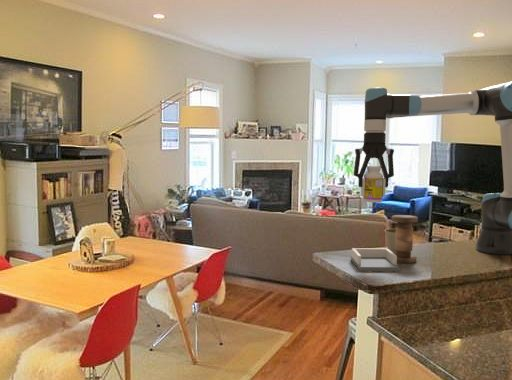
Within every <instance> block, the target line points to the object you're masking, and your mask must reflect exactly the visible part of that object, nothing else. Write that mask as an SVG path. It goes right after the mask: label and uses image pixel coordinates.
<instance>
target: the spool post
mask: <svg viewBox="0 0 512 380" xmlns="http://www.w3.org/2000/svg"><path fill="white" fill-rule="evenodd" d="M418 219H419V217H418V216H416V215H409V214H408V215H407V214H406V215H405V214H395V215H392V216H391V221H392V222H395V223H396V225H397V226H395V229H396V236H395V250H397V251H396V254H395V255H396V256H397V263H398V264H414V263H417V255H413V254H412V251H413V247H414V246H413V241H414V227H412V224H414V223H415V224H416V223H418V221H419V220H418Z"/></svg>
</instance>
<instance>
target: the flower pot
mask: <svg viewBox="0 0 512 380" xmlns="http://www.w3.org/2000/svg"><path fill="white" fill-rule="evenodd" d="M384 232H385V233H384V234H385V235H386V243H387V245H386V246H387V248H388V249H389V250H390V251H391V252H393V253H394V254H396V251H397V250H395V236H396V228H387V229H384Z"/></svg>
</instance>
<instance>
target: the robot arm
mask: <svg viewBox="0 0 512 380" xmlns="http://www.w3.org/2000/svg"><path fill="white" fill-rule="evenodd" d="M364 97H365V98H364V124H363V125H364V126H363V130H364V133H363V145H362V147H359V148H355V149H354V153H355V158H354V160H355V161H354V167H353V177H354V176H355V177H356V178H358V179H357V180H358V188H360V196H361V197H362V198H363V197H364V196H365V178H364V175H365V174H366V173H365V172H366V171H367V166H369V162H370V161H371V159H377V160H378V163H379V166H381V169H380V170H381V174H382V175H383V192H382V198H385V197H386V188H388V187H389V178H392V177H394V176H395V174H394V173H395V172H394V171H395V170H394V168H395V167H394V158H393V156H394V152H395V149H393V148H388V147H387V145H386V131H387V125H386V124H387V119H395V118H407V117H420V116H421V117H423V116H424V117H425V116H437V115H439V116H440V115H453V114H468V115H470V116H494V122H495V123H496V124H497V125H499V128H500V129H499V131H500V145H501V146H500V148H501V160H502V163H501V164H502V175H503V178H502V179H503V189H504V190H503V191H502V192H495V193H494V192H493V193H492V192H491V193H485V194H484V195H483V196H482V201H481V205H482V206H481V229H480V233H479V235H478V238H477V240H476V242H475V250H476V251H478V252H481V253H486V254H493V255H505V256H506V255H512V80H511V81H507V82H504V83H503V82H502V83H499V84H495V85H492V86H488V87H485V88H480V89H471V90H469V91H468V92H466V93H465V92H462V93H447V94H431V95H419V94H411V93H409V94H402V93H401V94H397V93H396V94H391V93H388V89H387V88H385V87H370V88H367V89H366V91H365V96H364ZM362 152H363V153H364V155H365V157H364V160H363V163H362V166H361V168H360V162H361V155H362ZM385 152H386V154H387V165H388V168H387V166H386V164H385V160H384V159H385V158H384V156H383V155H384V154H385ZM387 169H388V170H387Z"/></svg>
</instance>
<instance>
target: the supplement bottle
mask: <svg viewBox="0 0 512 380" xmlns="http://www.w3.org/2000/svg"><path fill="white" fill-rule="evenodd" d="M381 170H382V169H381V166H380V165H367V168H366V171H367V172H366V173H364V176H363V178H365V196H364V197H362V198H363V201H364V202H365V203H374V204H375V203H382V201H383V197H382V192H383V178H384V176H383V173H382V172H381Z"/></svg>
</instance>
